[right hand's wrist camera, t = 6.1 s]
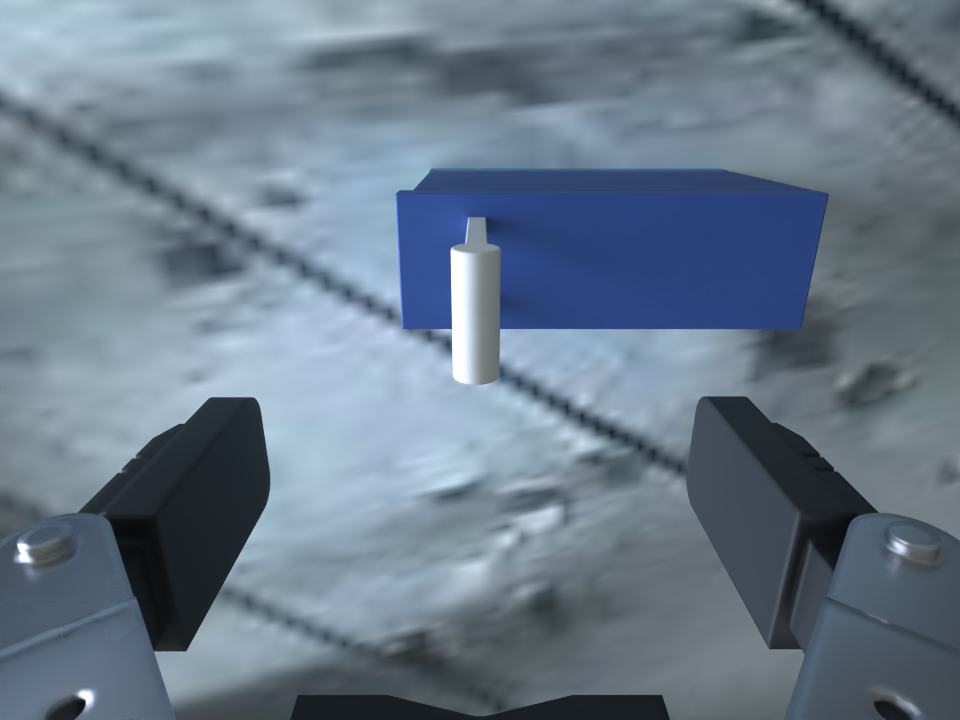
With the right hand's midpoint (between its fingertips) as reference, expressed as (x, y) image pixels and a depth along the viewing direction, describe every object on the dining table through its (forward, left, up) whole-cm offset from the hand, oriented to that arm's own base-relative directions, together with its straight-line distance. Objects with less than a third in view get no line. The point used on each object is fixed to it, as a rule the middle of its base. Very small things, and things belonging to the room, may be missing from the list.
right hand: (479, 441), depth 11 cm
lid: (+1, +5, -16) cm, 17 cm away
